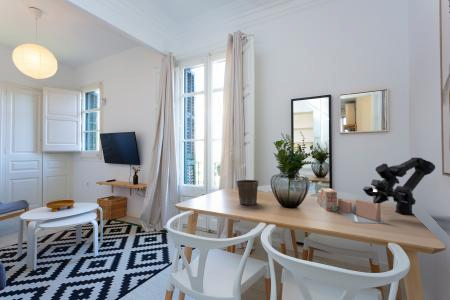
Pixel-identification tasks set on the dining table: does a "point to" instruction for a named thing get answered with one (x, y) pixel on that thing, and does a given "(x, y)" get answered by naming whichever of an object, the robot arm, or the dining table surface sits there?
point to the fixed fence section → (344, 206)
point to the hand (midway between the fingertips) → (373, 205)
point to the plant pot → (247, 191)
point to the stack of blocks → (327, 199)
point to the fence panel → (367, 210)
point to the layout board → (358, 218)
